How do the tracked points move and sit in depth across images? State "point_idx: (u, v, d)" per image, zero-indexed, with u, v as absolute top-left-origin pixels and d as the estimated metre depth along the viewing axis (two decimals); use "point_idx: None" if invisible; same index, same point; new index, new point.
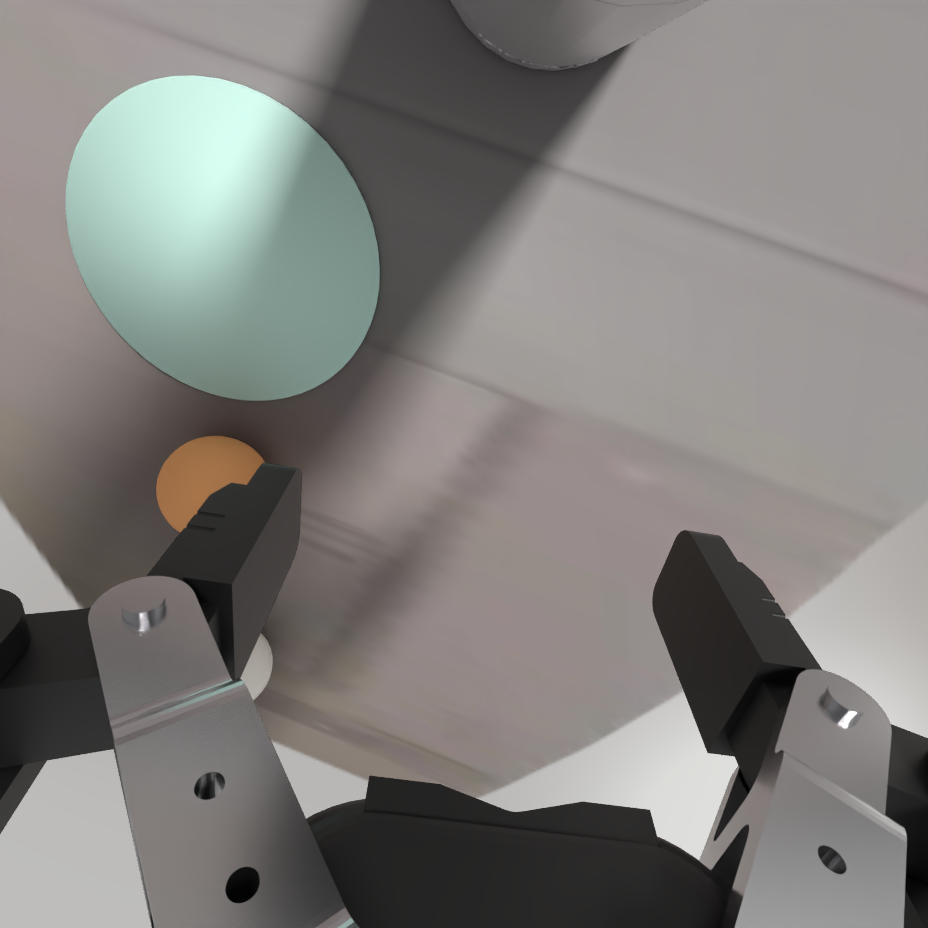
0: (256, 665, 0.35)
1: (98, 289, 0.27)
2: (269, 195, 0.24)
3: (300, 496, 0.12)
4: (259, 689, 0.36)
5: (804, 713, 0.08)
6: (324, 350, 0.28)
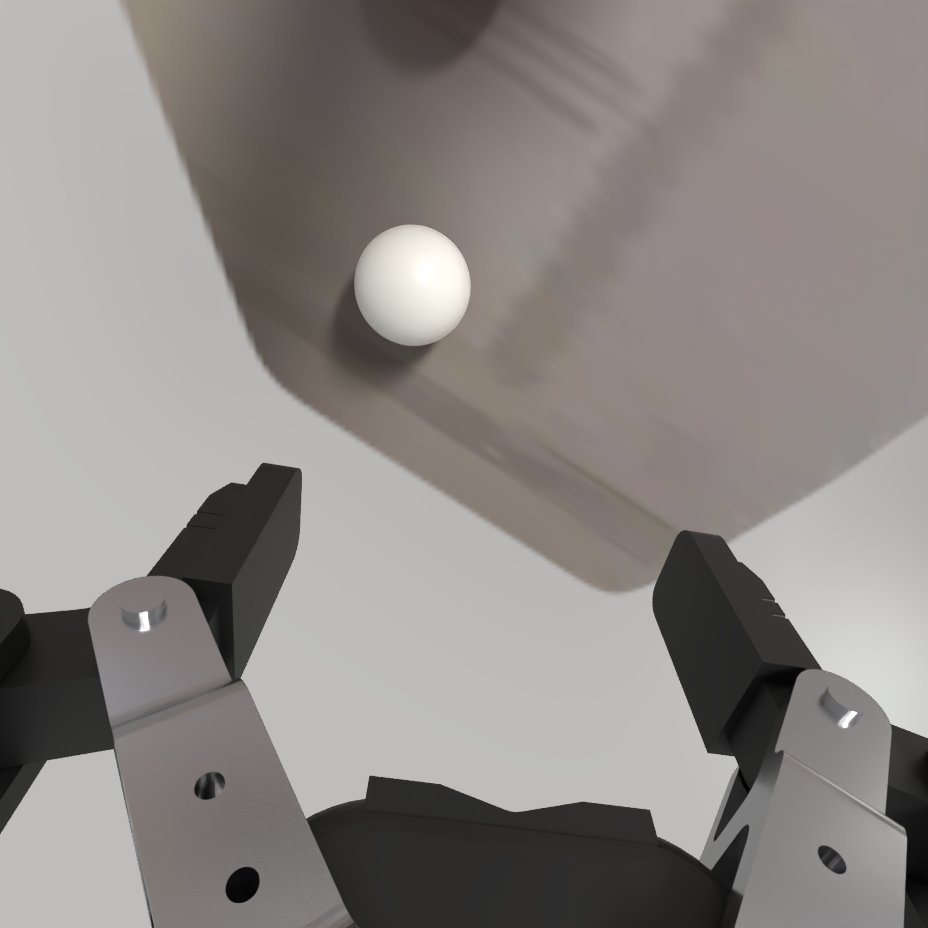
0: (462, 266, 0.26)
1: None
2: None
3: (300, 496, 0.12)
4: (461, 306, 0.26)
5: (804, 713, 0.08)
6: None
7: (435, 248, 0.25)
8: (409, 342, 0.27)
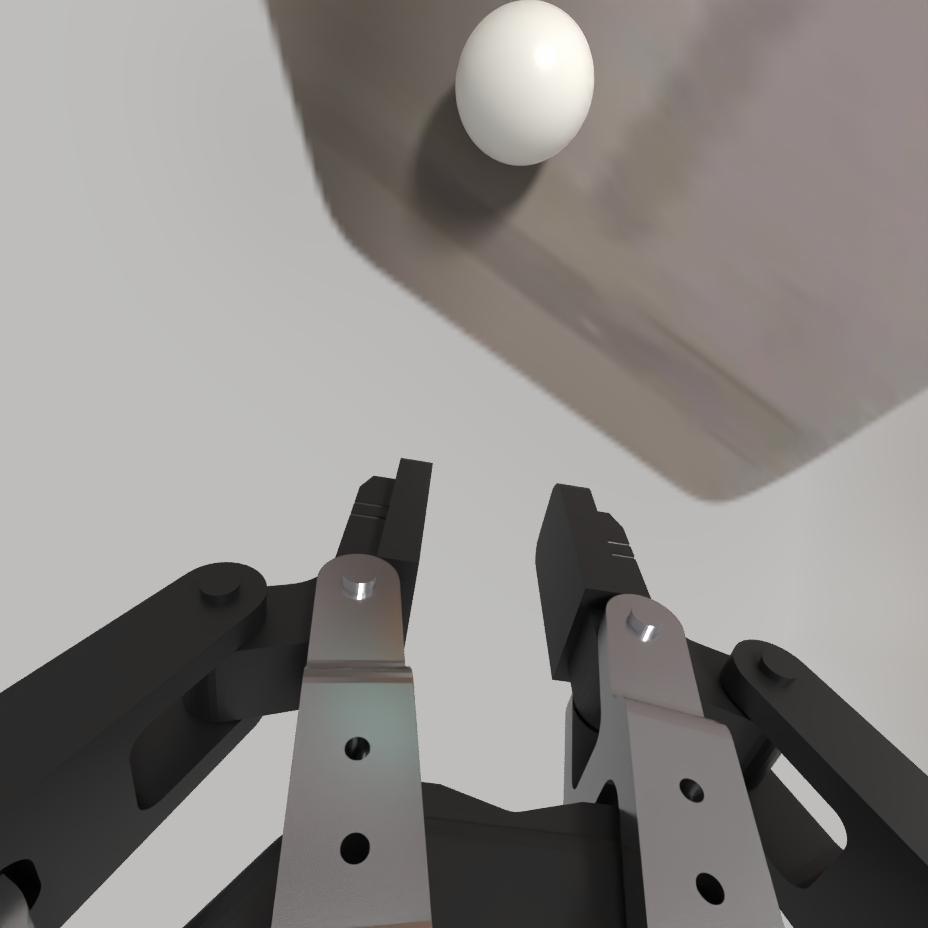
0: (589, 49, 0.21)
1: None
2: None
3: None
4: (587, 103, 0.22)
5: (621, 644, 0.08)
6: None
7: (563, 18, 0.20)
8: (522, 150, 0.22)
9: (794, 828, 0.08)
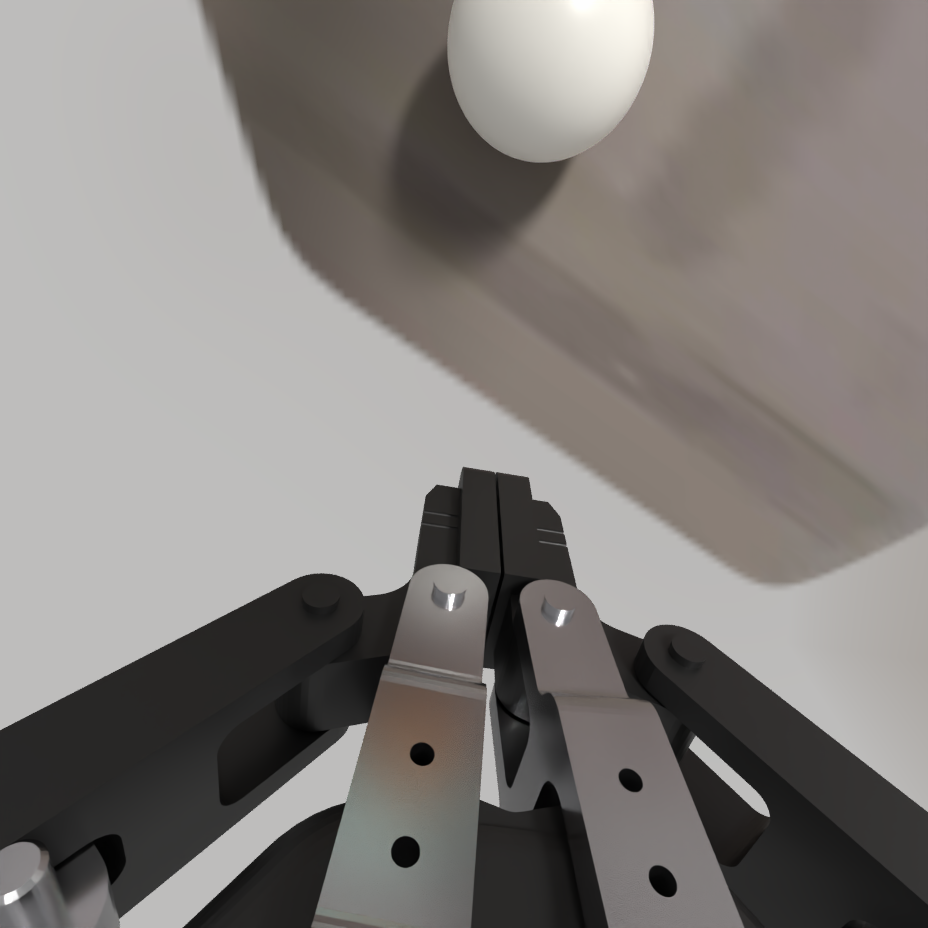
0: None
1: None
2: None
3: None
4: (643, 69, 0.15)
5: (539, 634, 0.08)
6: None
7: None
8: (546, 140, 0.15)
9: (715, 802, 0.08)
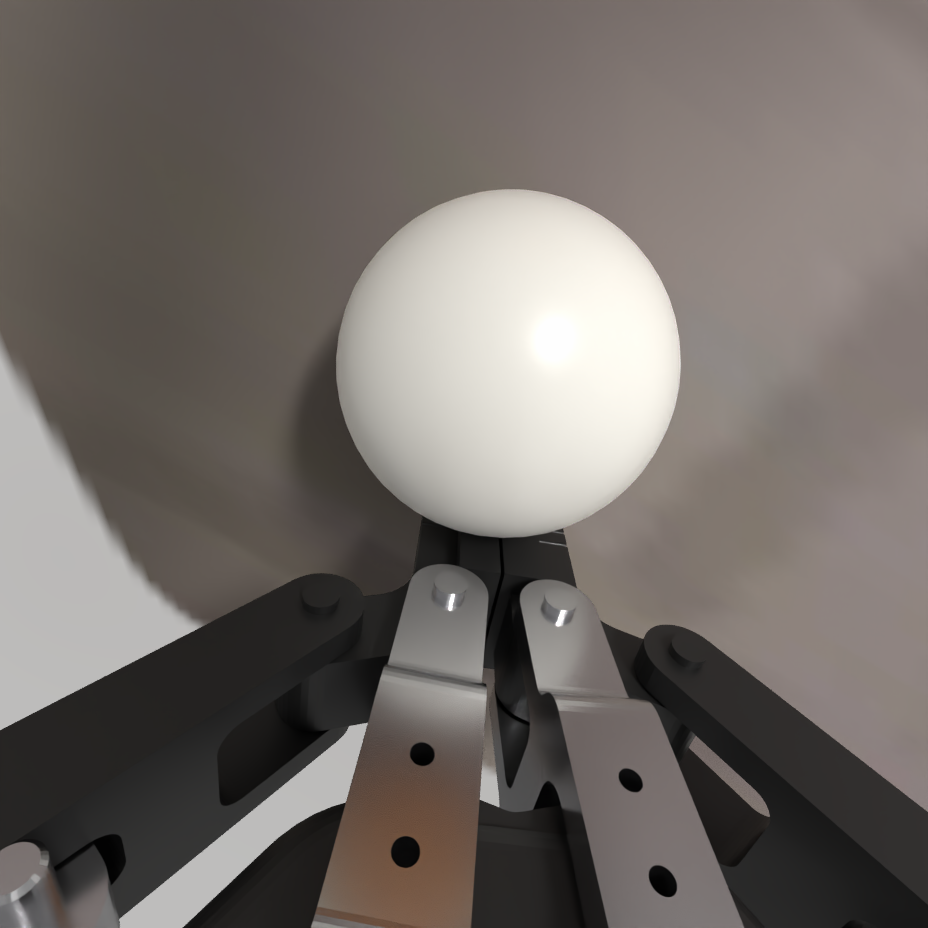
0: None
1: None
2: None
3: None
4: (676, 395, 0.08)
5: (539, 634, 0.08)
6: None
7: (600, 215, 0.08)
8: (518, 505, 0.08)
9: (715, 802, 0.08)
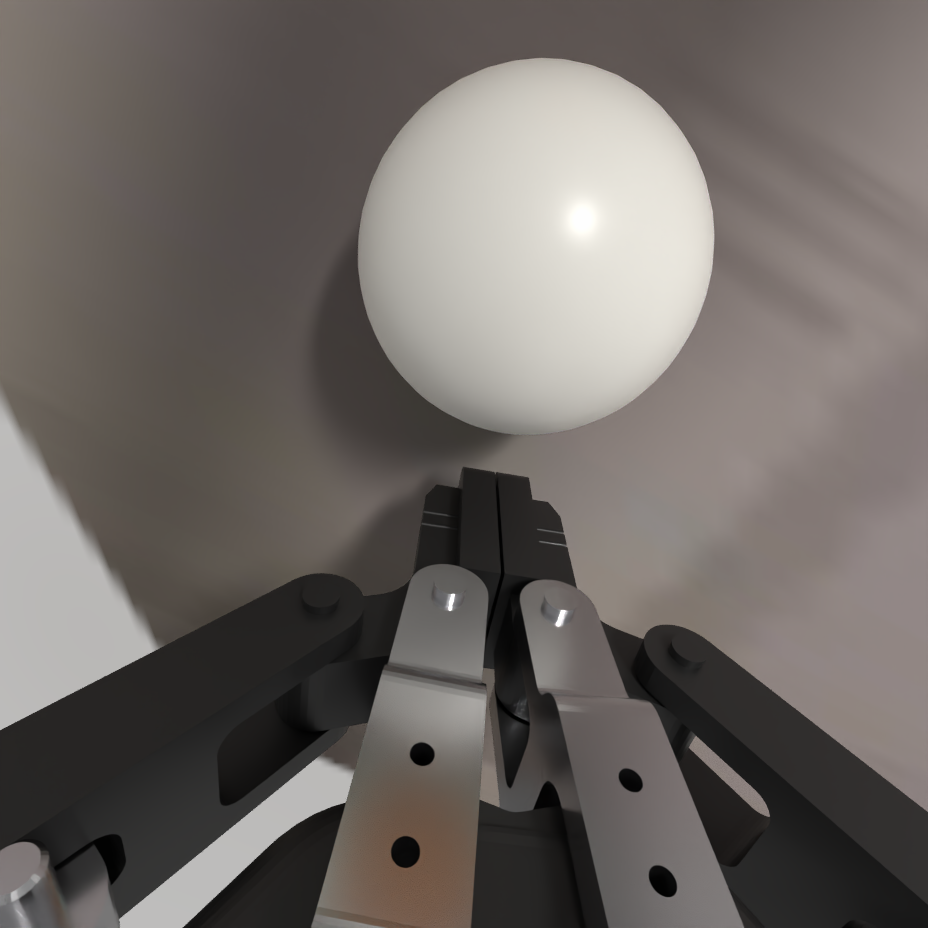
0: None
1: None
2: None
3: None
4: None
5: (539, 634, 0.08)
6: None
7: None
8: None
9: (715, 802, 0.08)
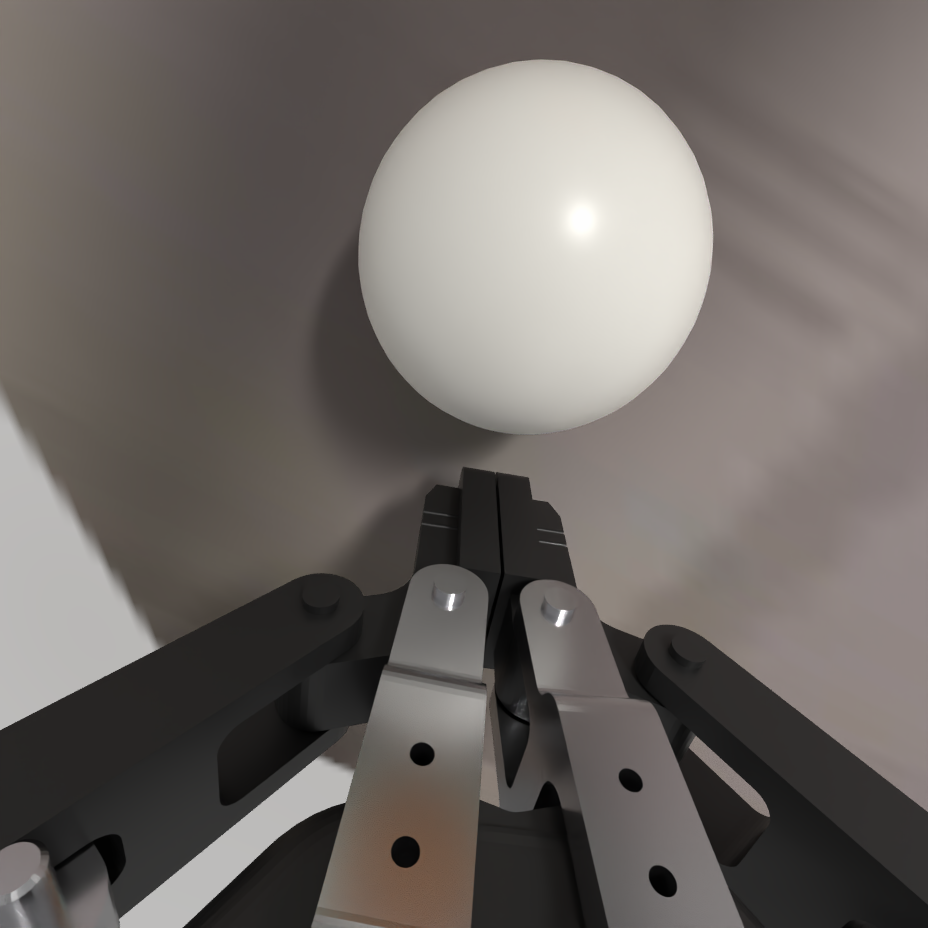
0: None
1: None
2: None
3: None
4: None
5: (539, 634, 0.08)
6: None
7: None
8: None
9: (715, 802, 0.08)
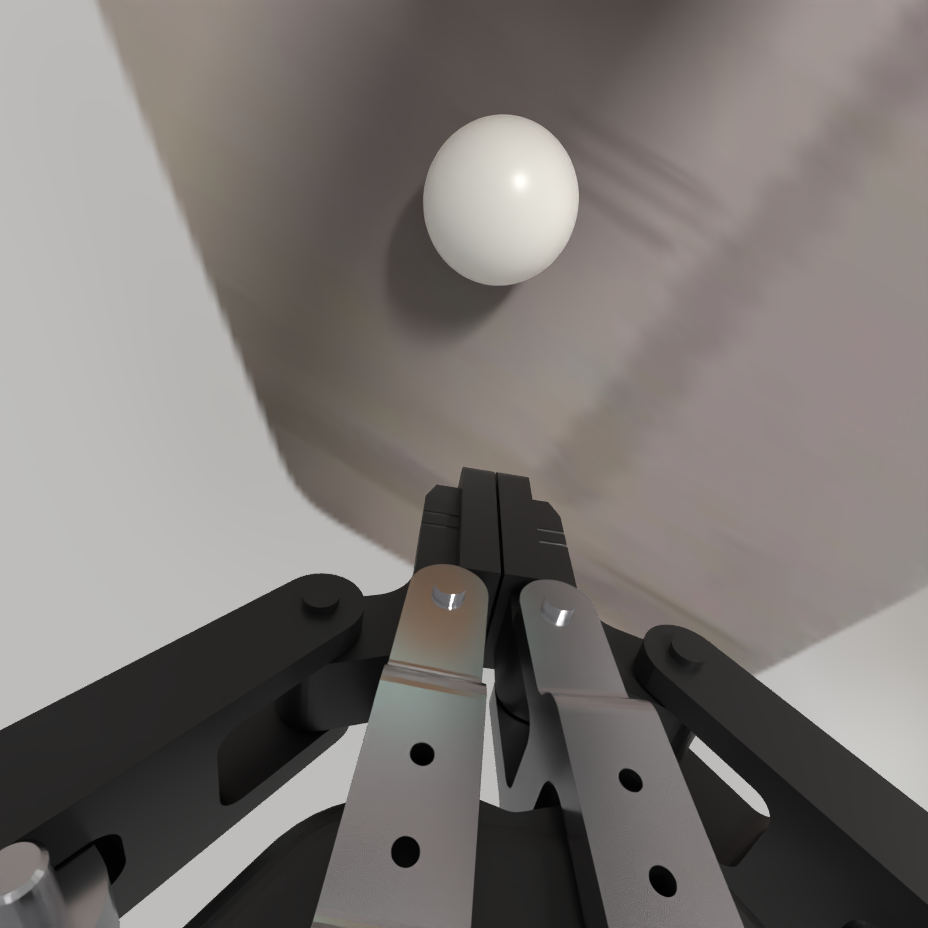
0: None
1: None
2: None
3: None
4: None
5: (540, 634, 0.08)
6: None
7: None
8: None
9: (714, 802, 0.08)
